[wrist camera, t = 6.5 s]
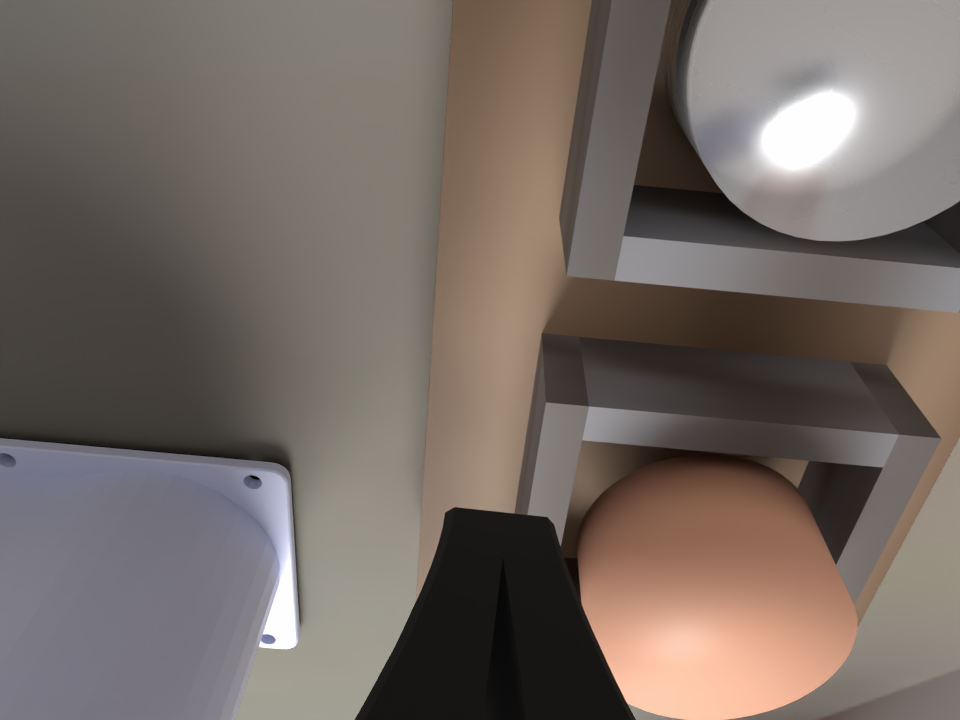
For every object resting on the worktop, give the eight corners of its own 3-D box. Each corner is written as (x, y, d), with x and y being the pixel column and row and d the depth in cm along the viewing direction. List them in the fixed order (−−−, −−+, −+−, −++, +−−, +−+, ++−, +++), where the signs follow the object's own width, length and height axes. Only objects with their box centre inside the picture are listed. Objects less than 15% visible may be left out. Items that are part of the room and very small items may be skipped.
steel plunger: (635, 171, 14) (657, 225, 12) (702, -162, 11) (745, -167, 9) (907, 197, 14) (978, 255, 12) (1039, -126, 11) (1159, -125, 9)
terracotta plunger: (561, 610, 18) (567, 709, 16) (597, 443, 15) (610, 535, 13) (773, 629, 18) (808, 729, 16) (847, 466, 15) (900, 562, 13)
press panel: (425, 532, 24) (404, 693, 19) (488, -403, 12) (475, -557, 8) (810, 566, 24) (882, 733, 19) (1217, -322, 13) (1623, -430, 8)
